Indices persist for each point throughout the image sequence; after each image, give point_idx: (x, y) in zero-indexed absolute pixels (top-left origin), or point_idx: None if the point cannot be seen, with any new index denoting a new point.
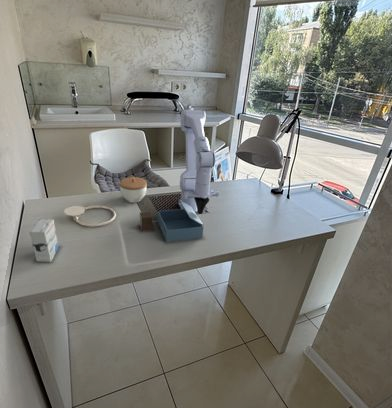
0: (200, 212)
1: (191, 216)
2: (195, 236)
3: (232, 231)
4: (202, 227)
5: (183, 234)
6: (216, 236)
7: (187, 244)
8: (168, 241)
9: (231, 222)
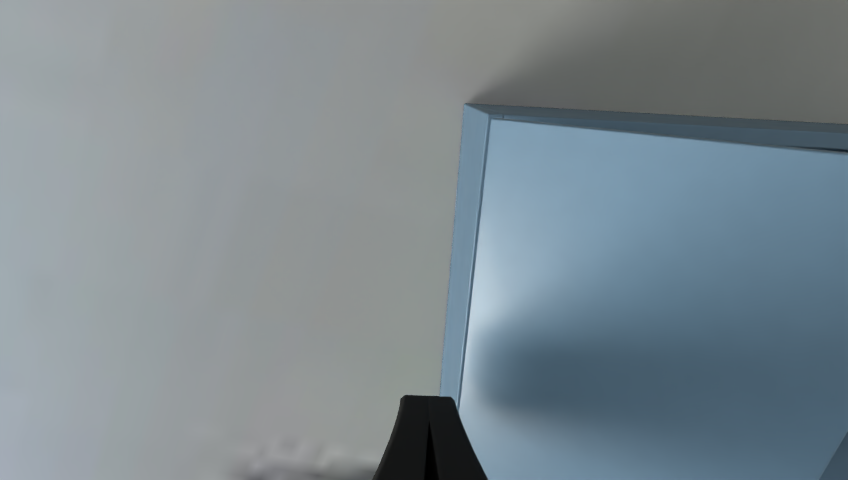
0: (438, 412)
1: (798, 266)
2: (555, 109)
3: (76, 142)
4: (501, 114)
5: (736, 122)
6: (293, 93)
7: (676, 27)
8: (845, 124)
9: (55, 300)
